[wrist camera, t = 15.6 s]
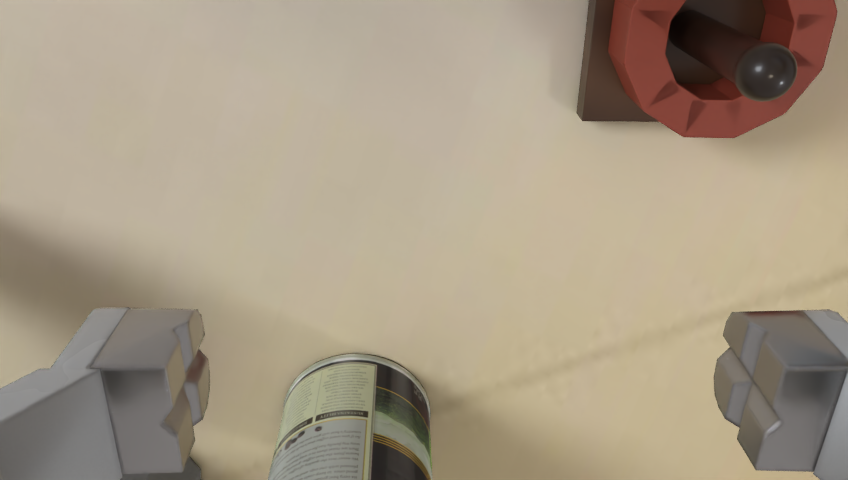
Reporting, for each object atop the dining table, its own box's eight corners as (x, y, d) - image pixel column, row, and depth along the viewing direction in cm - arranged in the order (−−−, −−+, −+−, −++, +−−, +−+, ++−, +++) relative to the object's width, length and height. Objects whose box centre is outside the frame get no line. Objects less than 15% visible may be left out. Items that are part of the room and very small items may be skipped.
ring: (625, -80, 36) (644, -76, 33) (824, -74, 37) (860, -70, 34) (598, 117, 41) (613, 136, 38) (776, 121, 41) (804, 139, 38)
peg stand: (597, -78, 38) (675, -58, 27) (790, -74, 38) (942, -54, 27) (576, 113, 42) (635, 194, 31) (749, 115, 42) (865, 195, 32)
